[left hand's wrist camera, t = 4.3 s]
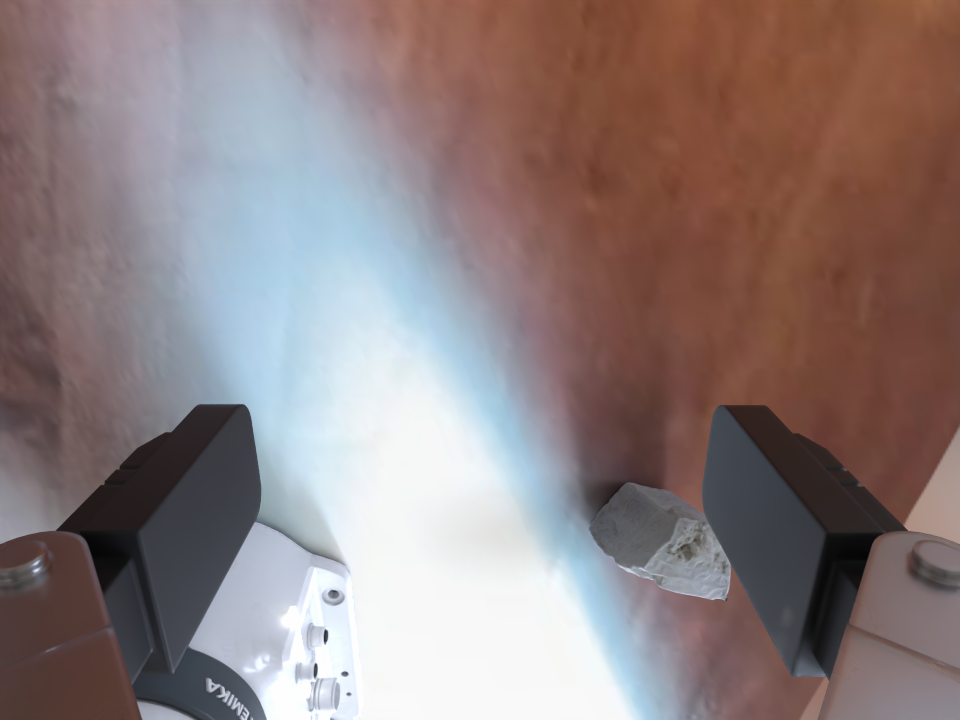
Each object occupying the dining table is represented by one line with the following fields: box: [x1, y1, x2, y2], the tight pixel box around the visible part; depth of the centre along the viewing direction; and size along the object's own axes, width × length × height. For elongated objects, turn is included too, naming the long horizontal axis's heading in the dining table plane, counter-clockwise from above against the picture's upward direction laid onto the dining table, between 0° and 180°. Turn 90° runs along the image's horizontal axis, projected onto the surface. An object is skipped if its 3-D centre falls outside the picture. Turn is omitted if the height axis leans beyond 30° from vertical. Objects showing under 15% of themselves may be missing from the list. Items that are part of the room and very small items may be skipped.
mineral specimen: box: [589, 482, 730, 601], centre depth 42 cm, size 7×9×8 cm
